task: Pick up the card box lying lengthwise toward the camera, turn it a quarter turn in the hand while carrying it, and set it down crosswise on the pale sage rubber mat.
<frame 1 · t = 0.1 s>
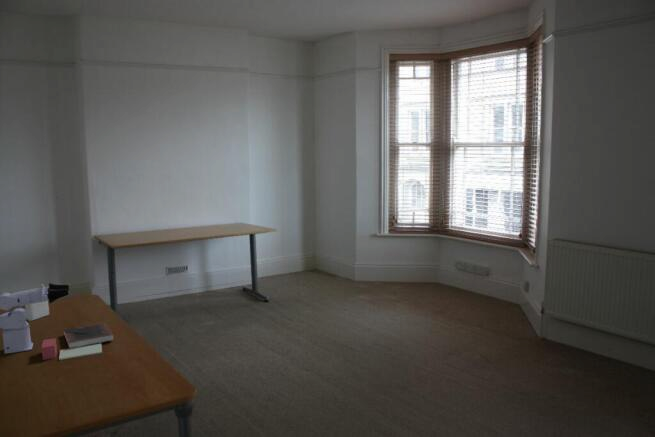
hand: (68, 289, 231), 22 cm above the table, tool horizontal, fingers open, 7 cm apart
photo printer: (38, 318, 268), on the table
sage mat: (81, 352, 221), on the table
card box: (50, 355, 219), on the table
picture frame: (88, 338, 236), on the table, touching sage mat
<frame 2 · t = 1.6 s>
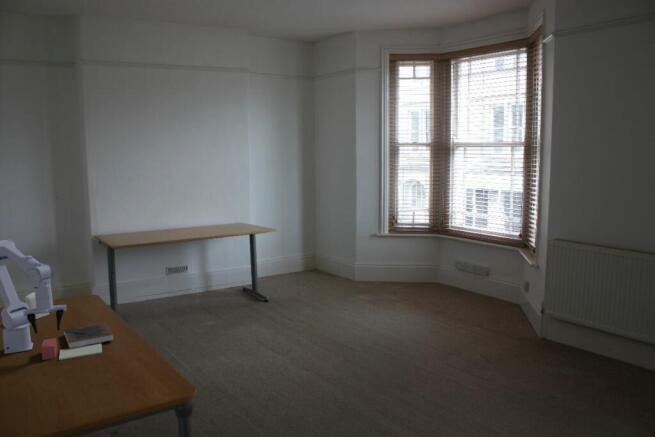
hand: (47, 331, 218), 9 cm above the table, tool pointing down, fingers open, 7 cm apart
nothing on the table moved.
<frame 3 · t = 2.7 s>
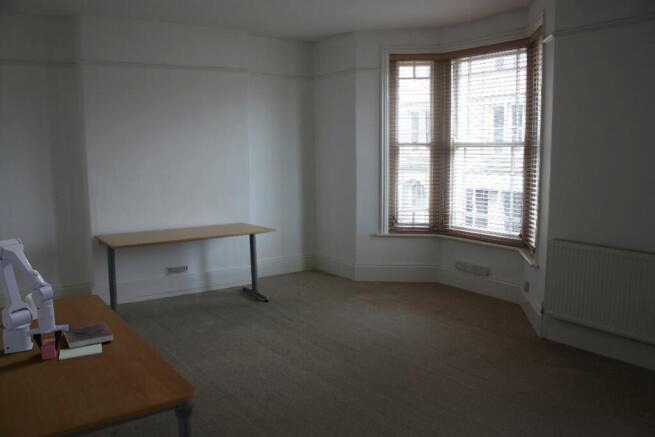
hand: (49, 351, 219), 1 cm above the table, tool pointing down, fingers closed on card box, 4 cm apart
card box: (50, 355, 219), on the table, touching gripper
everything else where it was.
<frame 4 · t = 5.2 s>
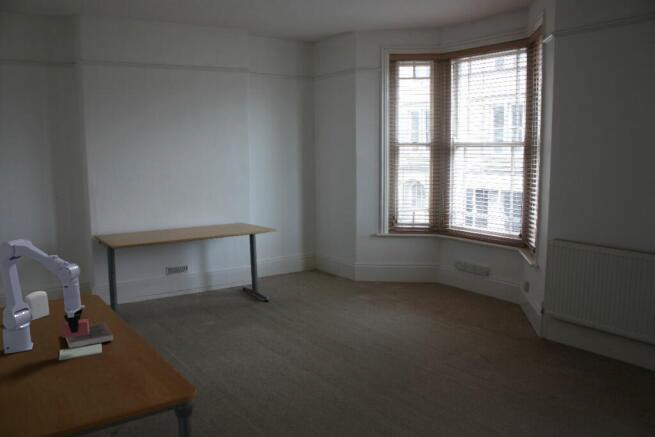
hand: (75, 330, 219), 9 cm above the table, tool pointing down, fingers closed on card box, 4 cm apart
card box: (76, 334, 220), point 7 cm above the table, touching gripper
everything else where it was.
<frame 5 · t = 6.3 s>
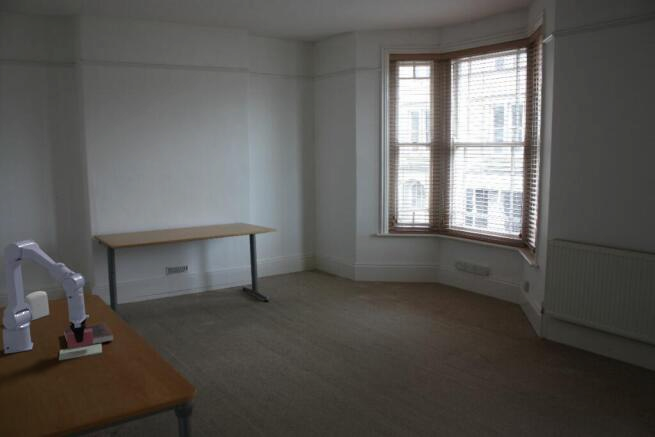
hand: (79, 340, 220), 5 cm above the table, tool pointing down, fingers closed on card box, 4 cm apart
card box: (80, 344, 220), point 3 cm above the table, touching gripper
everything else where it was.
when the fingers open (3 cm above the table, at t = 7.2 s): card box stays where it is, resting on sage mat.
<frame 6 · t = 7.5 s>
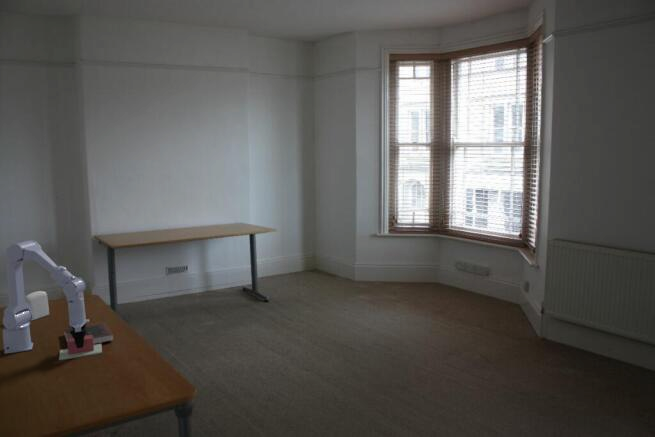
hand: (80, 344, 220), 3 cm above the table, tool pointing down, fingers open, 7 cm apart
card box: (81, 350, 221), point 1 cm above the table, touching sage mat
everything else where it was.
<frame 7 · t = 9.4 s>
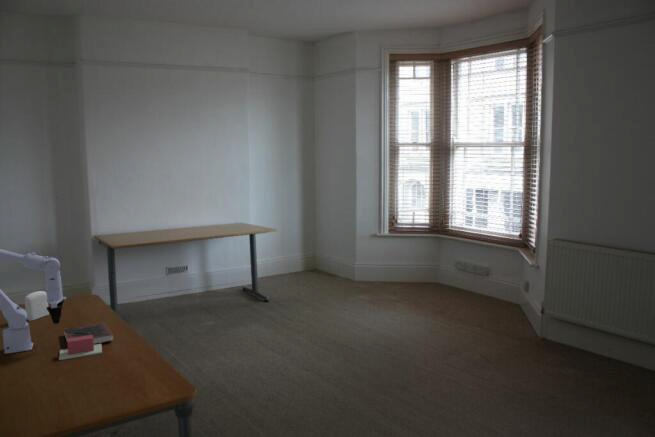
hand: (57, 320, 231), 9 cm above the table, tool pointing down, fingers open, 7 cm apart
nothing on the table moved.
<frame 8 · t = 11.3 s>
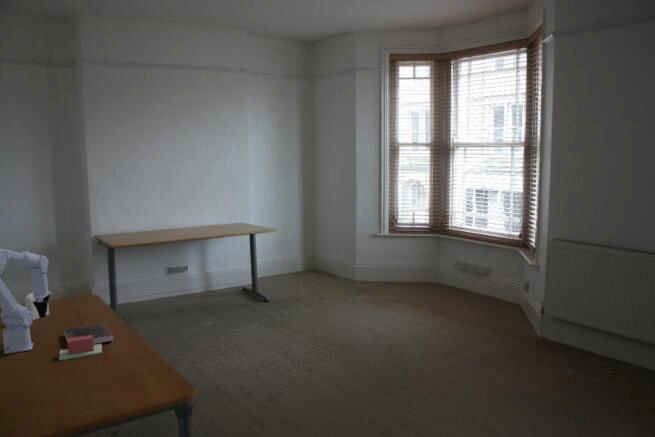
hand: (43, 314, 240), 9 cm above the table, tool pointing down, fingers open, 7 cm apart
nothing on the table moved.
at the end: card box inside the target area on the sage mat (0.1 cm from its centre), point 0.6 cm above the sage mat's base; card box tilted 0°; the gripper is holding nothing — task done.
